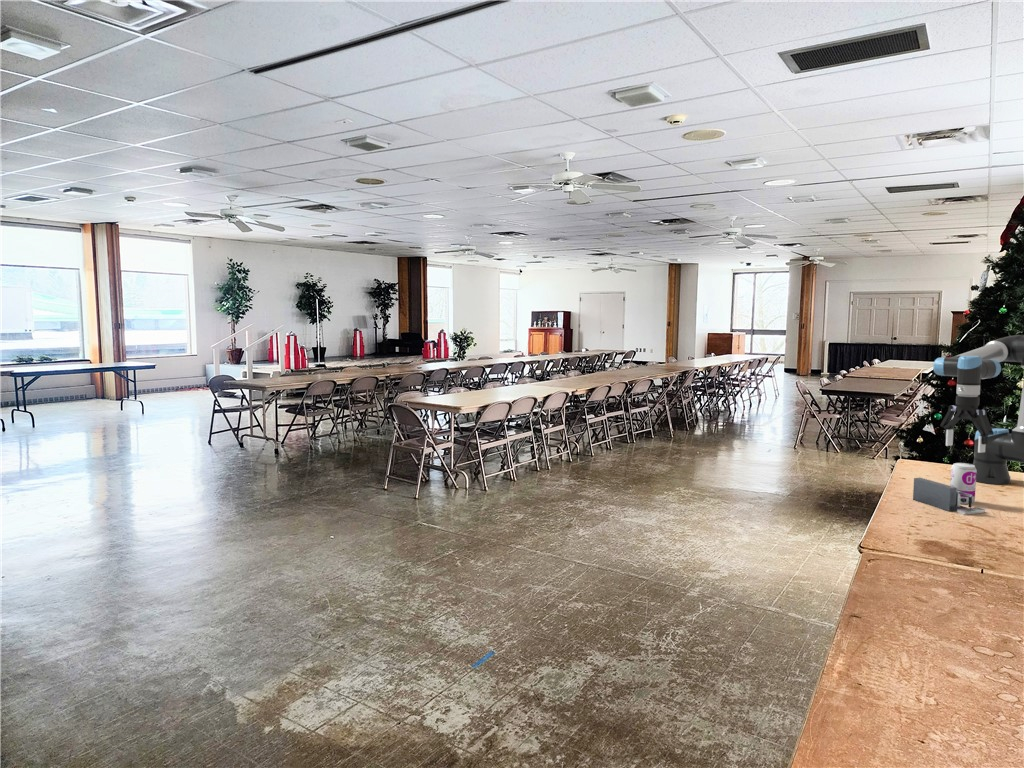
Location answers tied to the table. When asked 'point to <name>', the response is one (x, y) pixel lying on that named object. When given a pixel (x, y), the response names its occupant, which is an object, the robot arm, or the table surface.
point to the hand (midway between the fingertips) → (964, 448)
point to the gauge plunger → (959, 498)
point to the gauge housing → (940, 496)
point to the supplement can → (964, 480)
